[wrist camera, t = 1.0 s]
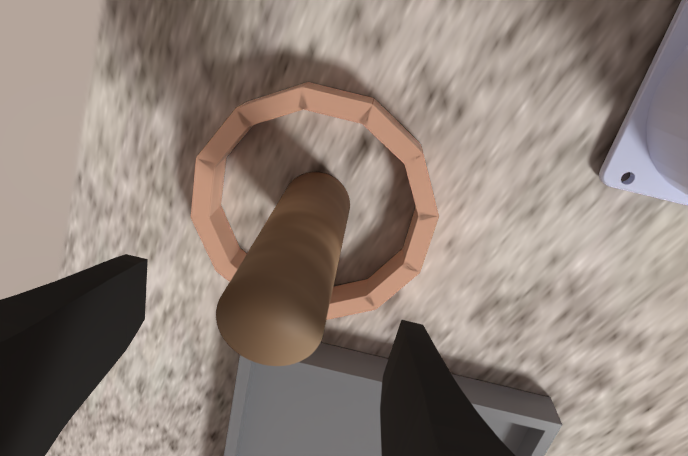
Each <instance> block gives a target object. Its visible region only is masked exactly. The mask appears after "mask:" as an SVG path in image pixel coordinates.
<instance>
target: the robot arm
mask: <svg viewBox="0 0 688 456" xmlns="http://www.w3.org/2000/svg"><path fill="white" fill-rule="evenodd" d="M627 172H630V177H629V178H628V180H626V181H621V177H622V175H623V174H625V173H627ZM599 177H600V180H601V181H602V182H603V183H604V184H605V185H608V186H610V187H614V188H618V189H622V190H626V191H630V192H634V193H638V194H642V195H647V196H651V197H655V198H659V199H663V200H667V201H671V202H675V203H679V204H684V205H688V0H681V2H680V4H679V6H678V9H677V11H676V13H675V15H674V17H673V19H672V21H671V23H670V25H669V27H668V29H667V31H666V34H665V36H664V38H663V40H662V42H661V44H660V46H659V48H658V50H657V52H656V54H655V57H654V59H653V61H652V63H651V65H650V67H649V69H648V71H647V73H646V75H645V77H644V79H643V82H642V84H641V86H640V88H639V90H638V92H637V94H636V96H635V98H634V100H633V102H632V105H631V107H630V109H629V111H628V113H627V115H626V117H625V119H624V121H623V123H622V125H621V127H620V130H619V132H618V134H617V136H616V138H615V140H614V142H613V144H612V146H611V148H610V150H609V152H608V155H607V157H606V159H605V161H604V163H603V165H602V167H601V169H600V172H599ZM147 260H148V259H144V258H140V257H135V256H131V255H127V254H125V255H122V256H119V257H116V258H113V259H111V260H108V261H106V262H103V263H101V264H98V265H95V266H93V267H91V268H88V269H86V270H83V271H80V272H78V273H75V274H73V275H70V276H68V277H65V278H63V279H60V280H57V281H55V282H52V283H49V284H46V285H43V286H40V287H38V288H35V289H32V290H29V291H26V292H23V293H20V294H18V295H15V296H11V297H8V298H5V299H2V300H0V456H45V455H46V453H47V452H48V450H49V449H50V447H51V446H52V444H53V443H54V441H55V440H56V438H57V437H58V435H59V434H60V432H61V431H62V429H63V428H64V427H65V425H66V424H67V423H68V421H69V420H70V419H71V417H72V416H73V415H74V413H75V412H76V411H77V410H78V409H79V407H80V406H81V405H82V404H83V402H84V401H85V400H86V399H87V398H88V396H89V395H90V394H91V393H92V391H93V390H94V389H95V388H96V387H97V385H98V384H99V383H100V382H101V380H102V379H103V378H104V377H105V376H106V374H107V373H108V372H109V371H110V369H111V368H112V367H113V366H114V364H115V363H116V362H117V361H118V359H119V358H120V357H121V356H122V354H123V353H124V352H125V351H126V349H127V348H128V346H129V345H130V343H131V341H132V340H133V338H134V337H135V335H136V333H137V332H138V330H139V328H140V326H141V325H142V323H143V321H144V320H145V303H146V282H147ZM380 426H381V453H382V456H515V455H514V454H513V452H512V451H511V450H510V449H509V448H508V447H507V446H506V445H505V444H504V443H503V442H502V441H501V440H500V438H499V437H498V436H497V435H496V434H495V433H494V431H493V430H492V429H491V428H490V427H489V425H488V424H487V423H486V422H485V421H484V419H483V418H482V417H481V416H480V414H479V413H478V412H477V411H476V409H475V408H474V407H473V405H472V404H471V402H470V401H469V400H468V398H467V397H466V395H465V394H464V393H463V391H462V390H461V388H460V387H459V385H458V384H457V382H456V381H455V379H454V377H453V376H452V374H451V373H450V371H449V369H448V368H447V366H446V364H445V363H444V361H443V359H442V358H441V356H440V354H439V352H438V351H437V349H436V347H435V345H434V343H433V342H432V340H431V338H430V336H429V334H428V333H427V331H426V329H425V327H424V326H423V325H422V324H417V323H413V322H409V321H405V320H401V323H400V326H399V329H398V332H397V335H396V338H395V341H394V344H393V347H392V350H391V353H390V356H389V359H388V362H387V365H386V368H385V371H384V374H383V380H382V390H381V402H380Z"/></svg>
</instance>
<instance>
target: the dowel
mask: <svg viewBox="0 0 688 456" xmlns="http://www.w3.org/2000/svg"><path fill="white" fill-rule="evenodd" d="M349 210H350V200H349V196H348V193H347V191H346V189H345V188H344V186H343V185H342V184H341V183H340V182H339V181H338V180H337V179H336V178H334V177H332V176H330V175H328V174H325V173H321V172H309V173H305V174H302V175H300V176H298V177H297V178H295V179H294V180H293V181H292V182H291V183H290V184H289V186H288V187H287V189H286V191H285V192H284V194H283V196H282V197H281V199H280V200H279V202H278V204H277V205H276V207H275V209H274V210H273V212H272V214H271V215H270V217H269V218H268V220H267V222H266V223H265V225H264V227H263V228H262V230H261V232H260V233H259V235H258V237H257V238H256V240H255V241H254V243H253V245H252V246H251V248H250V250H249V251H248V253H247V255H246V256H245V258H244V260H243V261H242V263H241V264H240V266H239V268H238V269H237V271H236V273H235V274H234V276H233V278H232V279H231V281H230V283H229V284H228V286H227V287H226V289H225V291H224V292H223V294H222V296H221V297H220V299H219V302H218V304H217V309H216V320H217V325H218V328H219V331H220V333H221V335H222V337H223V338H224V340H225V341H226V342H227V344H228V345H229V346H230V347H231V348H232V349H233V350H234V351H236V352H237V353H238V354H240V355H241V356H243V357H244V358H246V359H248V360H250V361H253V362H255V363H259V364H263V365H268V366H286V365H291V364H295V363H297V362H300V361H302V360H304V359H306V358H307V357H308V356H310V355H311V354H312V353H313V352H314V351H315V350H316V349H317V347H318V346H319V344H320V342H321V340H322V337H323V333H324V328H325V323H326V319H327V314H328V309H329V304H330V300H331V295H332V290H333V286H334V281H335V276H336V271H337V267H338V262H339V257H340V252H341V248H342V243H343V238H344V234H345V229H346V224H347V219H348V215H349Z"/></svg>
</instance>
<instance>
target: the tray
mask: <svg viewBox="0 0 688 456" xmlns="http://www.w3.org/2000/svg"><path fill="white" fill-rule="evenodd" d="M387 362H388V359H387V358H383V357H379V356H374V355H370V354H366V353H362V352H358V351H354V350H349V349H345V348H341V347H337V346H333V345H328V344H324V343H320V344H319V346H318V347H317V349H316V350H315V351H314V352H313V353H312V354H311V355H310V356H308V357H307V358H306V359H304V360H302V361H300V362H297V363H295V364H291V365H286V366H268V365H263V364H259V363H255V362H253V361H250V360H248V359H246V358H244V357H243V356H241V355H240V358H239V364H238V371H237V377H236V383H235V389H234V396H233V402H232V408H231V414H230V421H229V427H228V433H227V439H226V446H225V452H224V456H382V453H381V426H380V402H381V390H382V380H383V374H384V371H385V368H386V365H387ZM452 376H453V377H454V379H455V381H456V382H457V384H458V385H459V387H460V388H461V390H462V391H463V393H464V394H465V395H466V397H467V398H468V400H469V401H470V402H471V404H472V405H473V407H474V408H475V409H476V411H477V412H478V413H479V414H480V416H481V417H482V418H483V419H484V421H485V422H486V423H487V424H488V425H489V427H490V428H491V429H492V430H493V431H494V433H495V434H496V435H497V436H498V437H499V438H500V440H501V441H502V442H503V443H504V444H505V445H506V446H507V447H508V448H509V449H510V450H511V451H512V452H513V454H514V455H515V456H544V455H545V454H546V452H547V450H548V449H549V447H550V445H551V443H552V442H553V440H554V438H555V437H556V435H557V433H558V432H559V430H560V428H561V426H562V423H561V421H560V418H559V416H558V414H557V411H556V409H555V407H554V404H553V402H552V400H551V397H546V396H542V395H538V394H534V393H530V392H525V391H521V390H517V389H513V388H509V387H504V386H500V385H496V384H492V383H488V382H483V381H479V380H475V379H471V378H467V377H462V376H458V375H454V374H452Z"/></svg>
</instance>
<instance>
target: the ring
mask: <svg viewBox="0 0 688 456" xmlns="http://www.w3.org/2000/svg"><path fill="white" fill-rule="evenodd" d="M303 109H304V110H308V111H312V112H316V113H320V114H324V115H328V116H333V117H337V118H341V119H345V120H349V121H353V122H357V123H361V124H363V125H364V126H365V127H366V128H367V129H368V130H369V131H370V132H371V133H372V134H373V135H374V136H375V137H376V138H378V139H379V140H380V141H381V142H382V143H383V144H384V145H385V146H386V147H387V148H388V149H389V150H390V151H391V152H392V153H393V154H394V155H395V156H396V157H397V158H398V159H400V160H401V161H402V162H403V163H404V164H405V168H406V171H407V175H408V179H409V183H410V186H411V190H412V194H413V198H414V201H415V205H416V207H415V210H414V214H413V217H412V220H411V223H410V226H409V230H408V233H407V236H406V239H405V242H404V246H403V249H402V250H400V251H399V252H398V253H397V254H396V255H395V256H394V257H392V258H391V259H390V260H389V261H388V262H387V263H386V264H384V265H383V266H382V267H381V268H380V269H379V270H378V271H376V272H375V273H374V274H373V275H372V276H371V277H370V278H368V279H365V280H361V281H357V282H352V283H348V284H343V285H339V286H334V287H333V290H332V295H331V300H330V304H329V309H328V314H327V319H326V320H328V319H333V318H338V317H343V316H347V315H352V314H357V313H362V312H366V311H371V310H376V309H377V308H378V307H380V306H381V305H382V304H383V303H384V302H386V301H387V300H388V299H389V298H390V297H392V296H393V295H394V294H395V293H396V292H398V291H399V290H400V289H401V288H402V287H403V286H405V285H406V284H407V283H408V282H409V281H411V280H412V279H413V278H414V277H415V276H417V275H418V274H419V273H420V271H421V268H422V265H423V262H424V259H425V257H426V254H427V251H428V248H429V245H430V242H431V239H432V236H433V233H434V230H435V227H436V224H437V221H438V218H439V214H438V210H437V206H436V202H435V198H434V194H433V190H432V186H431V182H430V178H429V174H428V170H427V166H426V162H425V158H424V154H423V150H422V146H421V144H420V143H419V142H418V141H417V140H416V139H415V138H414V137H413V136H412V135H411V134H410V133H409V132H408V131H407V130H406V129H405V128H404V127H403V126H402V125H401V124H400V123H399V122H398V121H397V120H396V119H395V118H394V117H393V116H392V115H391V114H390V113H389V112H388V111H387V110H386V109H385V108H383V107H382V106H381V105H380V104H379V103H378V102H377V101H376V100H375V99H373V98H372V97H368V96H363V95H359V94H355V93H351V92H347V91H343V90H339V89H335V88H331V87H327V86H322V85H318V84H314V83H310V82H306V83H303V84H300V85H297V86H294V87H291V88H288V89H285V90H282V91H279V92H275V93H272V94H269V95H266V96H263V97H260V98H257V99H254V100H251V101H247V102H245V103H244V104H242V105H240V106H239V107H237V108H235V110H234V111H233V112H232V113H231V115H230V116H229V117H228V118H227V120H226V121H225V122H224V123H223V125H222V126H221V127H220V128H219V130H218V131H217V132H216V133H215V135H214V136H213V137H212V138H211V140H210V141H209V142H208V143H207V145H206V146H205V147H204V148H203V150H202V151H201V152H200V153H199V155H198V156H197V157H196V164H195V175H194V186H193V198H192V209H191V219H192V221H193V223H194V225H195V228H196V230H197V232H198V234H199V236H200V238H201V240H202V242H203V245H204V247H205V249H206V251H207V253H208V255H209V257H210V259H211V262H212V264H213V266H214V268H215V270H216V272H218V273H219V274H220V275H222V276H223V277H224V278H225V279H227V280H228V281H229V282H230V281H231V279H232V278H233V276H234V274H235V273H236V271H237V269H238V268H239V266H240V264H241V263H242V261H243V260H244V258H245V256H246V255H247V254H246V253H245V252H244V251H243V250H242V249H240V247H239V245H238V243H237V240H236V238H235V236H234V234H233V231H232V229H231V227H230V224H229V222H228V220H227V218H226V215H225V213H224V211H223V209H222V206H221V199H222V190H223V182H224V173H225V165H226V157H227V156H228V155H229V154H230V152H231V151H232V150H233V149H234V148H235V146H236V145H237V144H238V143H239V142H240V140H241V139H242V138H243V137H244V136H245V134H246V133H247V132H248V131H249V130H250V128H251V127H252V126H253V125H255V124H258V123H261V122H264V121H268V120H271V119H274V118H277V117H280V116H284V115H287V114H290V113H293V112H297V111H300V110H303Z"/></svg>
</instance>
